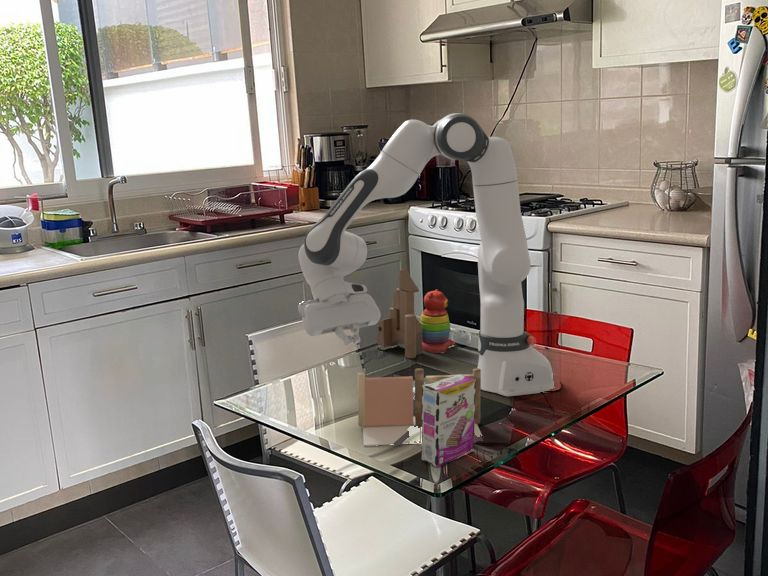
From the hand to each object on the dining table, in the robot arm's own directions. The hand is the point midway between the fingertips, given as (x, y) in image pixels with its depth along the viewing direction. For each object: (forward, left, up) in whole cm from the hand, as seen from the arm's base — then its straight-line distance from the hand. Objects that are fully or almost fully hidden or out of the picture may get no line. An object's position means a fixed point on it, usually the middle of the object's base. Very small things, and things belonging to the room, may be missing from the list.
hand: (353, 343), depth 187 cm
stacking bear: (-25, -45, -16) cm, 54 cm away
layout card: (-14, +19, -15) cm, 28 cm away
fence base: (-21, +16, -15) cm, 31 cm away
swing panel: (-7, +16, -15) cm, 23 cm away
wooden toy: (-14, -42, -16) cm, 47 cm away
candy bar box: (-19, +33, -16) cm, 41 cm away
